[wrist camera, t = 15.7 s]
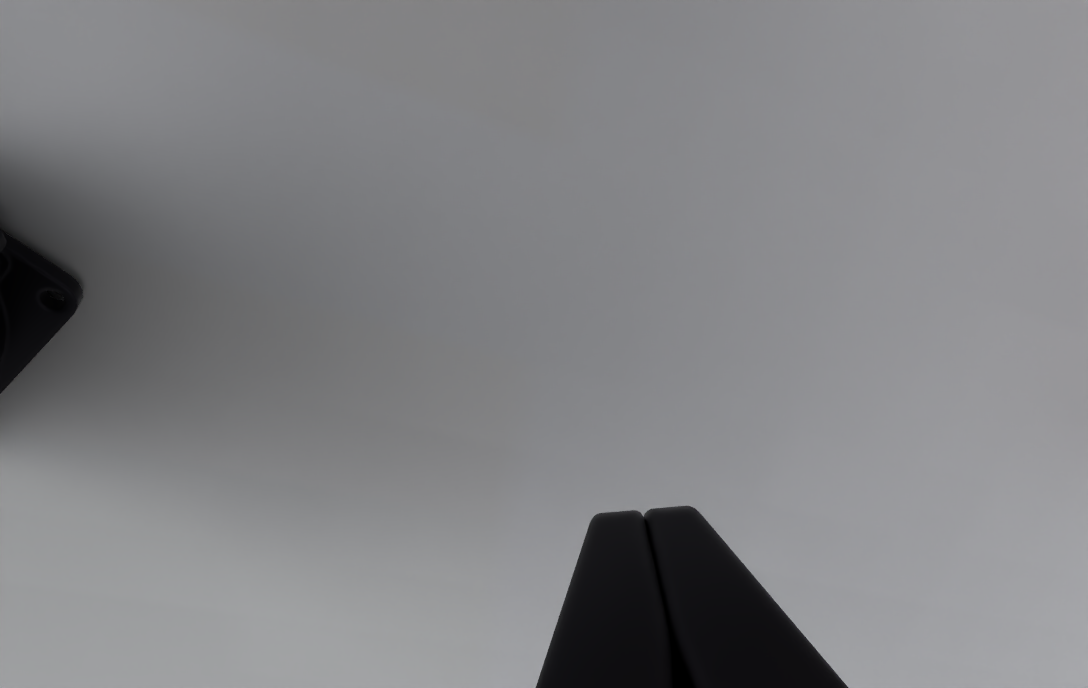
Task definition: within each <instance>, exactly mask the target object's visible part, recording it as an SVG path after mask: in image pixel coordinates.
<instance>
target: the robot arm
mask: <svg viewBox="0 0 1088 688" xmlns="http://www.w3.org/2000/svg"><path fill="white" fill-rule="evenodd" d="M46 290H53V291H55V292H58V293H59V294H60V295H62V296H63V297H64V300H57V299H55V298H52V297H51V296H50V295H49V294H48V293H47V291H46ZM82 298H83V289H82V288H81V286H80V284H79V282H78V281H77V280H76V279H74V278H73V277H72V276H71V275H69V274H68V273H66V272H65V271H63V270H62V269H60V268H59V267H57V266H56V265H54V264H53V263H51V262H50V261H48V260H46V259H45V258H43V257H42V256H40V255H39V254H37V253H36V252H34V251H33V250H31V249H30V248H28V247H27V246H25V245H23V244H22V243H20V242H19V241H17V240H16V239H14V238H13V237H11V236H10V235H8V234H7V233H5V232H4V231H2V230H1V229H0V394H1V393H2V391H3V390H4V389H5V388H6V387H7V386H8V385H9V384H10V383H11V382H12V381H13V380H14V378H15V377H16V376H17V375H18V374H19V373H20V372H21V371H22V370H23V369H24V368H25V367H26V365H27V364H28V363H29V362H30V361H31V360H32V359H33V358H34V357H35V356H36V355H37V353H38V352H39V351H40V350H41V349H42V348H43V347H44V346H45V345H46V344H47V343H48V342H49V340H50V339H51V338H52V337H53V336H54V335H55V334H56V333H57V332H58V331H59V330H60V329H61V327H62V326H63V325H64V324H65V323H66V322H67V321H68V320H69V319H70V318H71V317H72V316H73V314H74V313H75V311H76V309H77V308H78V306H79V304H80V302H81V300H82ZM536 688H848V687H847V685H846V684H845V683H844V682H843V681H842V680H841V678H840V677H839V676H838V675H837V674H836V673H835V671H834V670H833V669H832V668H831V667H830V665H829V664H828V663H827V662H826V661H825V660H824V658H823V657H822V656H821V655H820V654H819V653H818V651H817V650H816V649H815V648H814V647H813V645H812V644H811V643H810V642H809V641H808V640H807V638H806V637H805V636H804V635H803V634H802V633H801V631H800V630H799V629H798V628H797V627H796V625H795V624H794V623H793V622H792V621H791V620H790V618H789V617H788V616H787V615H786V614H785V612H784V611H783V610H782V609H781V608H780V607H779V605H778V604H777V603H776V602H775V601H774V600H773V598H772V597H771V596H770V595H769V594H768V592H767V591H766V590H765V589H764V588H763V587H762V585H761V584H760V583H759V582H758V581H757V580H756V578H755V577H754V576H753V575H752V574H751V572H750V571H749V570H748V569H747V568H746V567H745V565H744V564H743V563H742V562H741V561H740V560H739V558H738V557H737V556H736V555H735V554H734V552H733V551H732V550H731V549H730V548H729V547H728V545H727V544H726V543H725V542H724V541H723V539H722V538H721V537H720V536H719V535H718V534H717V532H716V531H715V530H714V529H713V528H712V527H711V525H710V524H709V523H708V522H707V521H706V519H705V518H704V517H703V516H702V515H701V514H700V513H699V512H698V511H697V510H696V509H695V508H693V507H691V506H678V507H666V508H655V509H650V510H649V511H647V512H646V513H645V515H644V517H643V515H642V514H641V513H640V512H638V511H635V510H632V511H620V512H609V513H599V514H596V515H595V516H594V517H593V518H592V520H591V522H590V524H589V527H588V530H587V533H586V537H585V540H584V543H583V546H582V549H581V552H580V555H579V558H578V561H577V564H576V567H575V570H574V573H573V576H572V579H571V582H570V585H569V588H568V591H567V594H566V597H565V600H564V603H563V606H562V610H561V613H560V616H559V619H558V622H557V625H556V628H555V631H554V634H553V637H552V640H551V643H550V646H549V649H548V652H547V655H546V658H545V661H544V664H543V667H542V670H541V673H540V676H539V679H538V683H537V686H536Z"/></svg>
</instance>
